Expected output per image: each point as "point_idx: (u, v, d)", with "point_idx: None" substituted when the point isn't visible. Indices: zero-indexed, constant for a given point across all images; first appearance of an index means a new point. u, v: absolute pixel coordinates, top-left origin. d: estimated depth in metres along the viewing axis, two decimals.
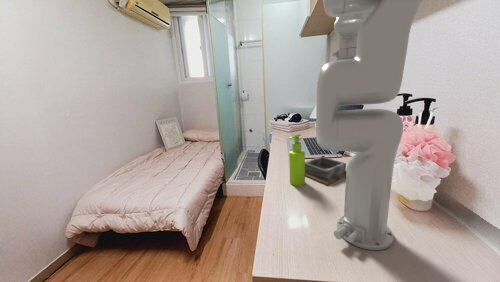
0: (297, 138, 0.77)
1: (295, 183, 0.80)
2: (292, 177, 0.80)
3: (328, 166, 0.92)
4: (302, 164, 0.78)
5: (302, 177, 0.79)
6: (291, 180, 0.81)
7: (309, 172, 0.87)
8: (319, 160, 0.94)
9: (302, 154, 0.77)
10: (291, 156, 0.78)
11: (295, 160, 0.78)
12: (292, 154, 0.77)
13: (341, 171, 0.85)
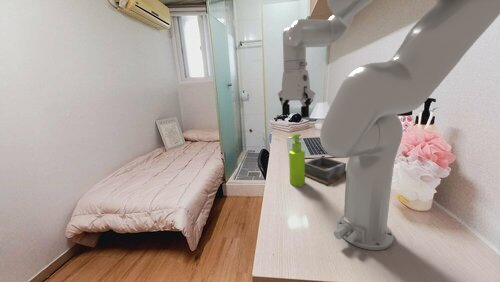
0: (297, 138, 0.77)
1: (295, 183, 0.80)
2: (292, 177, 0.80)
3: (328, 166, 0.92)
4: (302, 164, 0.78)
5: (302, 177, 0.79)
6: (291, 180, 0.81)
7: (309, 172, 0.87)
8: (319, 160, 0.94)
9: (302, 154, 0.77)
10: (291, 156, 0.78)
11: (295, 160, 0.78)
12: (292, 154, 0.77)
13: (341, 171, 0.85)
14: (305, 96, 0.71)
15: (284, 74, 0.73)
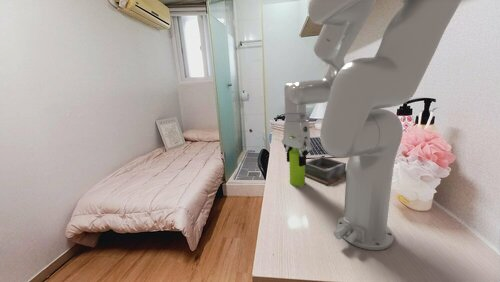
0: None
1: (295, 183, 0.80)
2: (292, 177, 0.80)
3: (328, 166, 0.92)
4: None
5: (302, 177, 0.79)
6: (291, 180, 0.81)
7: (309, 172, 0.87)
8: (319, 160, 0.94)
9: None
10: (291, 156, 0.78)
11: (295, 160, 0.77)
12: (292, 154, 0.77)
13: (341, 171, 0.85)
14: (304, 146, 0.76)
15: (286, 123, 0.77)
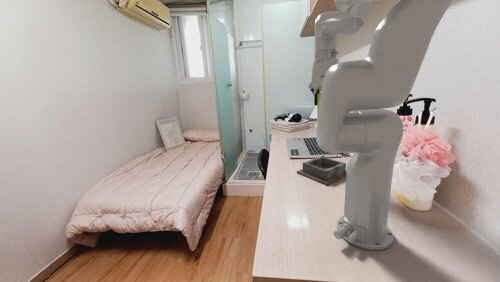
0: None
1: None
2: None
3: (328, 166, 0.92)
4: None
5: None
6: None
7: (309, 172, 0.87)
8: (319, 160, 0.94)
9: None
10: (320, 96, 0.79)
11: None
12: None
13: (341, 171, 0.85)
14: None
15: (315, 63, 0.79)
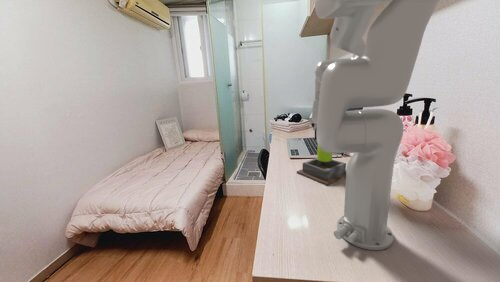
0: None
1: (323, 159, 0.85)
2: (320, 153, 0.85)
3: (328, 166, 0.92)
4: None
5: (330, 153, 0.85)
6: (319, 156, 0.86)
7: (309, 172, 0.87)
8: None
9: None
10: None
11: None
12: None
13: (341, 171, 0.85)
14: None
15: (315, 102, 0.82)
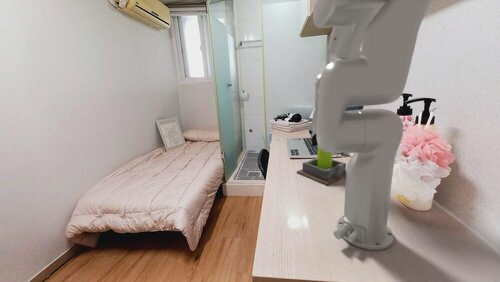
0: None
1: None
2: (320, 166, 0.86)
3: None
4: (330, 154, 0.84)
5: (330, 166, 0.86)
6: None
7: (309, 172, 0.87)
8: None
9: None
10: None
11: None
12: None
13: (341, 171, 0.85)
14: None
15: (315, 112, 0.84)
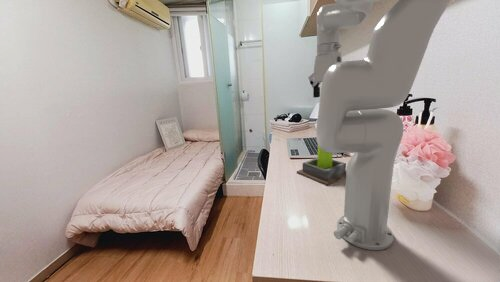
0: None
1: None
2: (320, 166, 0.86)
3: None
4: (330, 154, 0.84)
5: (330, 166, 0.86)
6: None
7: (309, 172, 0.87)
8: None
9: None
10: None
11: None
12: None
13: (341, 171, 0.85)
14: None
15: (317, 57, 0.78)
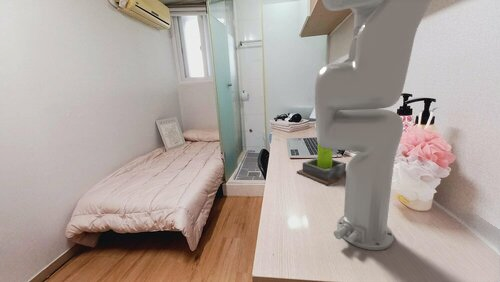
0: None
1: None
2: (320, 166, 0.86)
3: None
4: (330, 154, 0.84)
5: (330, 166, 0.86)
6: None
7: (309, 172, 0.87)
8: None
9: None
10: (320, 146, 0.84)
11: (324, 150, 0.84)
12: None
13: (341, 171, 0.85)
14: None
15: (353, 41, 0.73)
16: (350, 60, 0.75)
